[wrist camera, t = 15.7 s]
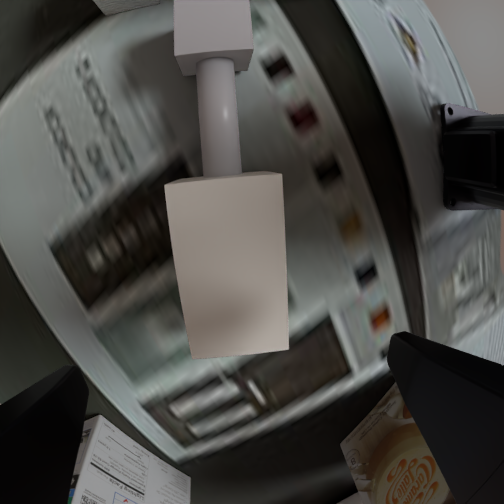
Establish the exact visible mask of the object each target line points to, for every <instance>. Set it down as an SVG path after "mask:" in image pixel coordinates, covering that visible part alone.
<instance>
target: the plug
mask: <svg viewBox="0 0 504 504" xmlns="http://www.w3.org/2000/svg"><path fill="white" fill-rule="evenodd" d="M253 50H254V46H253V35H252V24H251V13H250V3H249V0H174V56H175V58H176V60H177V63H178V65H179V67H180V69H181V72H182V74H183V76H190V75H196V78H197V95H198V111H199V126H200V139H201V152H202V164H203V176H201V177H192V178H183V179H178V180H176V181H173V182H170V183H168V184H165V185H164V187H165V197H166V205H167V213H168V221H169V229H170V236H171V243H172V250H173V257H174V263H175V270H176V276H177V282H178V288H179V294H180V299H181V305H182V310H183V316H184V321H185V326H186V331H187V336H188V341H189V346H190V350H191V355H192V359H203V358H216V357H228V356H238V355H248V354H257V353H265V352H273V351H281V350H288V349H289V338H288V294H287V264H286V240H285V218H284V199H283V182H282V174H280V173H274V172H269V171H257V172H244V173H242V166H241V153H240V140H239V127H238V113H237V100H236V86H235V73H234V71H247V70H248V67H249V63H250V60H251V57H252V53H253Z"/></svg>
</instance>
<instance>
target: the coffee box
mask: <svg viewBox="0 0 504 504" xmlns="http://www.w3.org/2000/svg"><path fill="white" fill-rule="evenodd" d="M340 446H341V449H342V451H343V454H344V457H345V459H346V461H347V464H348V467H349V469H350V472H351V474H352V477H353V480H354V482H355V485H356V487H357V490H358V492H359V495H360V498H361V500H362V503H363V504H456V502H455V500H454V498H453V495H452V493H451V491H450V489H449V487H448V485H447V483H446V481H445V479H444V477H443V475H442V473H441V471H440V469H439V467H438V465H437V463H436V461H435V459H434V457H433V455H432V453H431V451H430V449H429V447H428V446H427V444H426V442H425V440H424V438H423V436H422V434H421V432H420V431H419V429H418V427H417V425H416V423H415V421H414V419H413V418H412V416H411V414H410V412H409V410H408V409H407V407H406V405H405V403H404V400H403V398H402V396H401V394H400V391H399V389H398V386H397V384H396V382H395V383H394V384H393V386H392V387H391V388H390V389H389V391H388V392H387V393H386V394H385V395H384V397H383V398H382V399H381V400H380V401H379V402H378V404H377V405H376V406H375V407H374V408H373V409H372V411H371V412H370V413H369V414H368V415H367V416H366V417H365V418H364V419H363V420H362V421H361V423H360V424H359V425H358V426H357V427H356V428H355V429H354V430H353V431H352V432H351V433H350V434H349V435H348V436H347V437H346V438H345V439H344V440H343V441H342V442H341V443H340Z"/></svg>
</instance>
